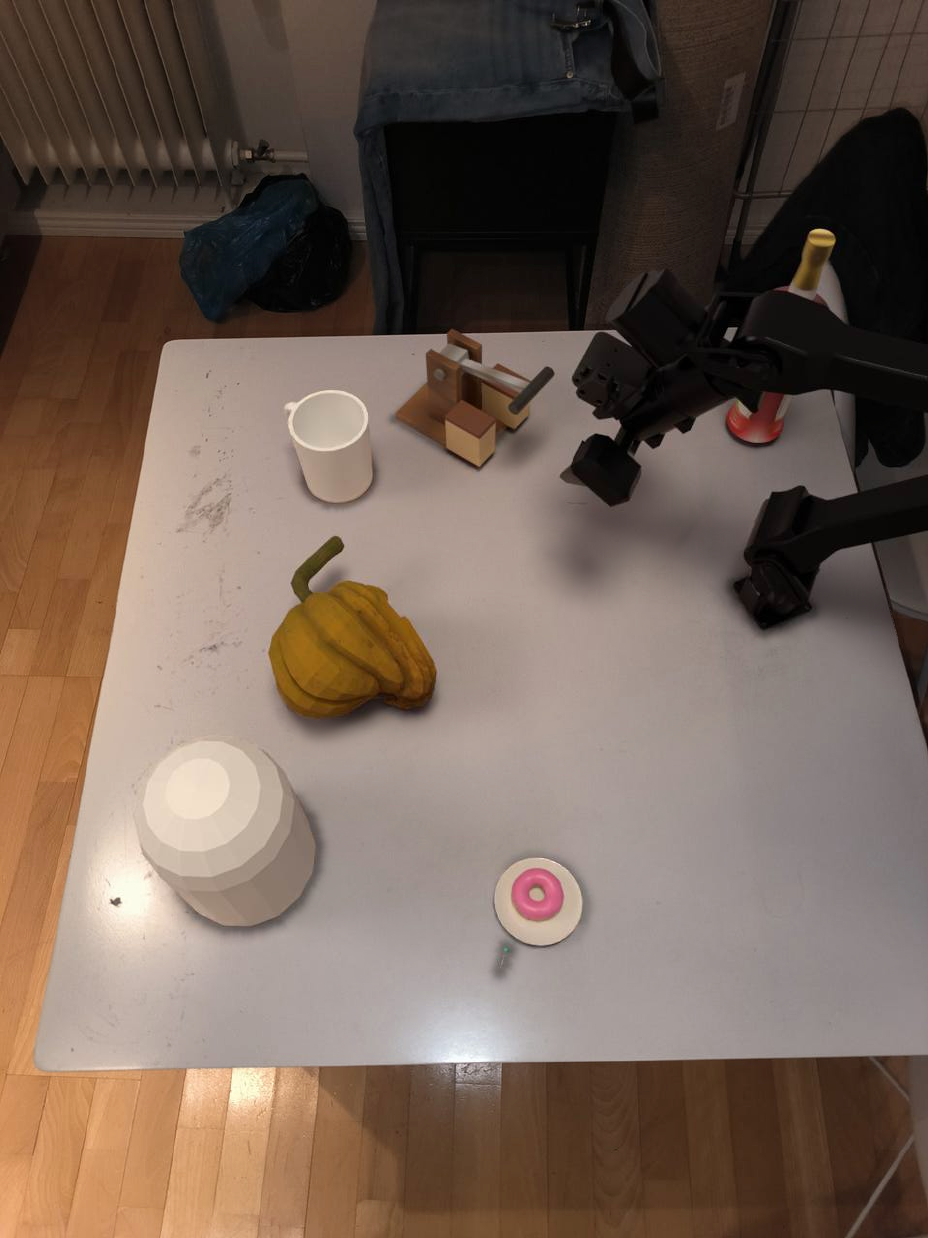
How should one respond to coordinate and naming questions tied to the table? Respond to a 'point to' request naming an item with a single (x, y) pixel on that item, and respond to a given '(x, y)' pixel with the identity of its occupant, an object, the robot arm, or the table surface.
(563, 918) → the donut on plate
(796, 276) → the liquor
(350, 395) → the mug
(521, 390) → the blade lever
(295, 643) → the pumpkin
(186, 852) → the container
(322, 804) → the table surface
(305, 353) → the table surface
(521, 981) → the table surface
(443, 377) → the slicer
